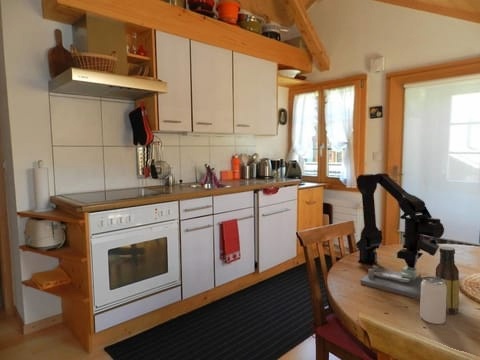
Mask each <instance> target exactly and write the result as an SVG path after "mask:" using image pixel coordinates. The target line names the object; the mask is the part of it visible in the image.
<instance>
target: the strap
mask: <svg viewBox="0 0 480 360" xmlns="http://www.w3.org/2000/svg"><path fill="white" fill-rule="evenodd" d="M374 276H377V277H383V278H388V279H393V280H399V281H404V282H410V280H411V278H408V277H404V276H399V275H393V274H387V273H382V272H376V271H374Z"/></svg>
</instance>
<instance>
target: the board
mask: <svg viewBox="0 0 480 360" xmlns="http://www.w3.org/2000/svg"><path fill="white" fill-rule="evenodd" d="M374 271H376V272H382V273H387V274H393V275H399V276H401V273H402V272H400V271H399V272H398V271H395V270H390V269H387V268H386V269H385V268H382V267H379V266H377V265H375V264H373V265H372V268H368V269H367V275H365V276H363V277H362V278H361V279H360V285H364V286H368V287H371V288H375V289H379V290H381V291H386V292H390V293H395V294H399V295H402V296H405V297H406V296H407V297H410V298H413V299H417V300H420V301H421V282H422V281H423V278H424V277H422V274H420V273H419V274H418V275H417V276H416V279H415V280H414V281H413V280H410V282H404V281H399V280H393V279H388V278H383V277H377V276H374Z"/></svg>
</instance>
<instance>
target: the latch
mask: <svg viewBox="0 0 480 360" xmlns="http://www.w3.org/2000/svg"><path fill="white" fill-rule="evenodd" d="M417 270H418V269H417V267H415V268H411V267H408V266H403V268H402V271H401V272H400V273H401V276H404V277H408V278H411V280H413V281H414V280H415V279H416V276H418V275H417V274H418V273H417V272H418V271H417Z"/></svg>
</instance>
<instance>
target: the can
mask: <svg viewBox="0 0 480 360" xmlns="http://www.w3.org/2000/svg"><path fill="white" fill-rule="evenodd" d="M422 278H423V281H422V282H421V300H420V304H419V306H420V307H419V312H420V313H419V315H420V318H421V319H422V320H423V321H424V322H426V323H428V324H432V325H442V324H445V322H446V316H447V313H446V294H447V287H446V285H445V281H444V280H442V279H440V278H437V277H435V276H424V277H422Z"/></svg>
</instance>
